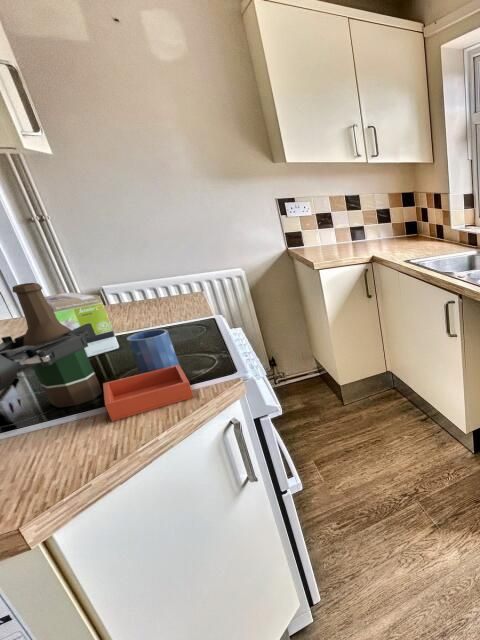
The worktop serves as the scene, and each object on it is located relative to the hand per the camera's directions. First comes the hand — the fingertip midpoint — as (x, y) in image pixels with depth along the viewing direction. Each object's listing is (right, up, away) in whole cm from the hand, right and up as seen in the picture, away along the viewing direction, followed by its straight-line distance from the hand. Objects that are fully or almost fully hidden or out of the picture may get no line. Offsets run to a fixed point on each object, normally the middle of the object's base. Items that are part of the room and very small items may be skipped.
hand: (68, 331), depth 86 cm
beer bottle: (+2, -14, 0) cm, 14 cm away
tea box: (-23, -5, +26) cm, 35 cm away
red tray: (+17, -13, 0) cm, 22 cm away
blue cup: (+11, -10, +10) cm, 18 cm away
